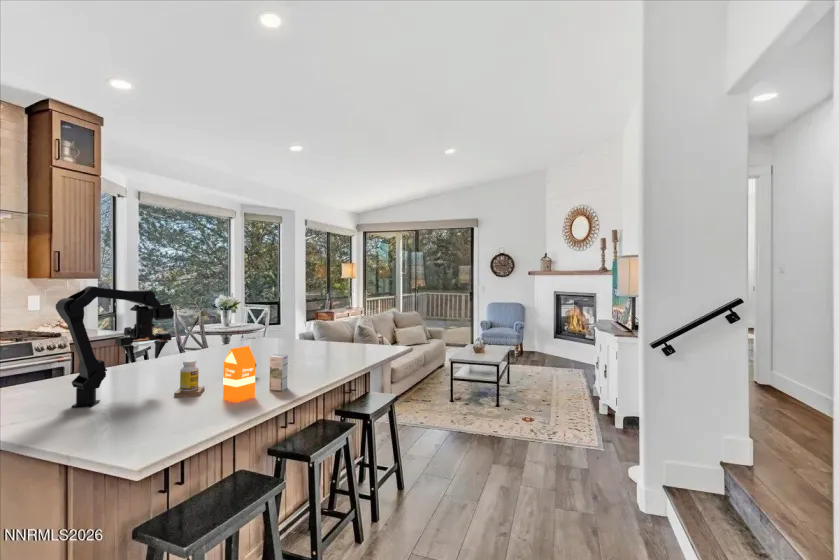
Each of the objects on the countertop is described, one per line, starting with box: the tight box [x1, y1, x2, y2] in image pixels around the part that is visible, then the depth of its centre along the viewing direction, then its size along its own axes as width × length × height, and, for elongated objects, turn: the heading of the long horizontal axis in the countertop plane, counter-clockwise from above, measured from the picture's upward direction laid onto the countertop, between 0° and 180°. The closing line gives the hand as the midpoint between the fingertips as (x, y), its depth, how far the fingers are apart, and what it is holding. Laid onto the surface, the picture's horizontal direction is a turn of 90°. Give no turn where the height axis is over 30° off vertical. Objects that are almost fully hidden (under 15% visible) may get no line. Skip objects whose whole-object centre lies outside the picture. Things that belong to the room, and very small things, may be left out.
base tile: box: [173, 385, 205, 398], centre depth 173 cm, size 9×9×2 cm
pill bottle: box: [179, 359, 200, 391], centre depth 173 cm, size 6×6×12 cm
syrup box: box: [269, 353, 289, 392], centre depth 182 cm, size 6×6×14 cm
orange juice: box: [222, 345, 256, 403], centre depth 168 cm, size 8×9×20 cm
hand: (144, 360), depth 173 cm, fingers open, 9 cm apart
